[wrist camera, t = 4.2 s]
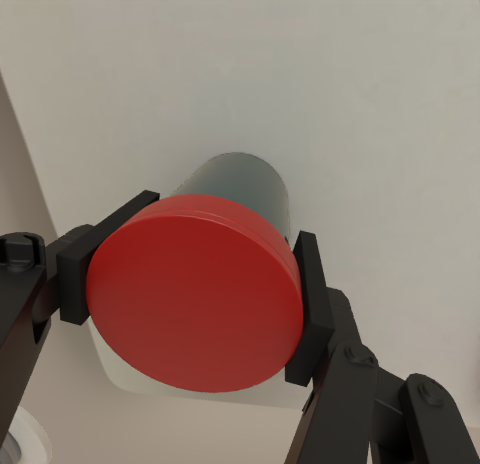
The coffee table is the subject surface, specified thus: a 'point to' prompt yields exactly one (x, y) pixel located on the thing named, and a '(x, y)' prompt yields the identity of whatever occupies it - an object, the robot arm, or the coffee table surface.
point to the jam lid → (198, 294)
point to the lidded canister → (243, 186)
